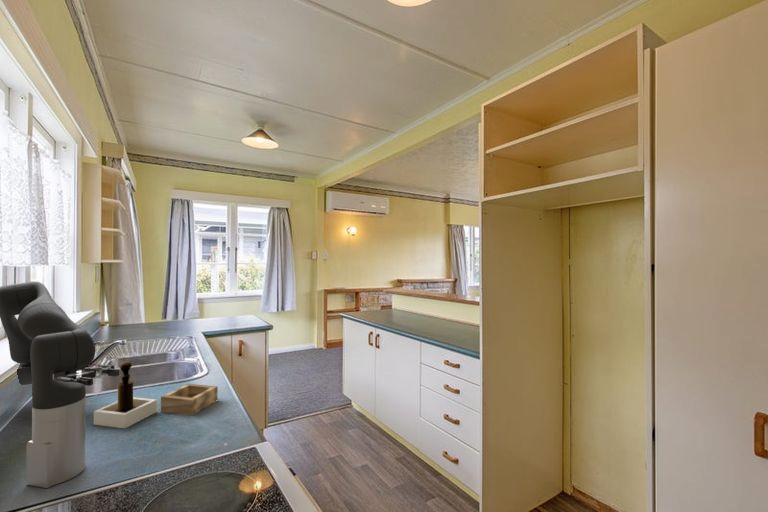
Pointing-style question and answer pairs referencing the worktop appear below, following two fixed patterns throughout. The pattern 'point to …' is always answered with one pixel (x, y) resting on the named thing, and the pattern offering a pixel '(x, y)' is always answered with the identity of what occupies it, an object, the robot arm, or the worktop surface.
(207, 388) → the socket
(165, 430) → the worktop surface
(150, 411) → the tray
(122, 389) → the dark pepper mill
